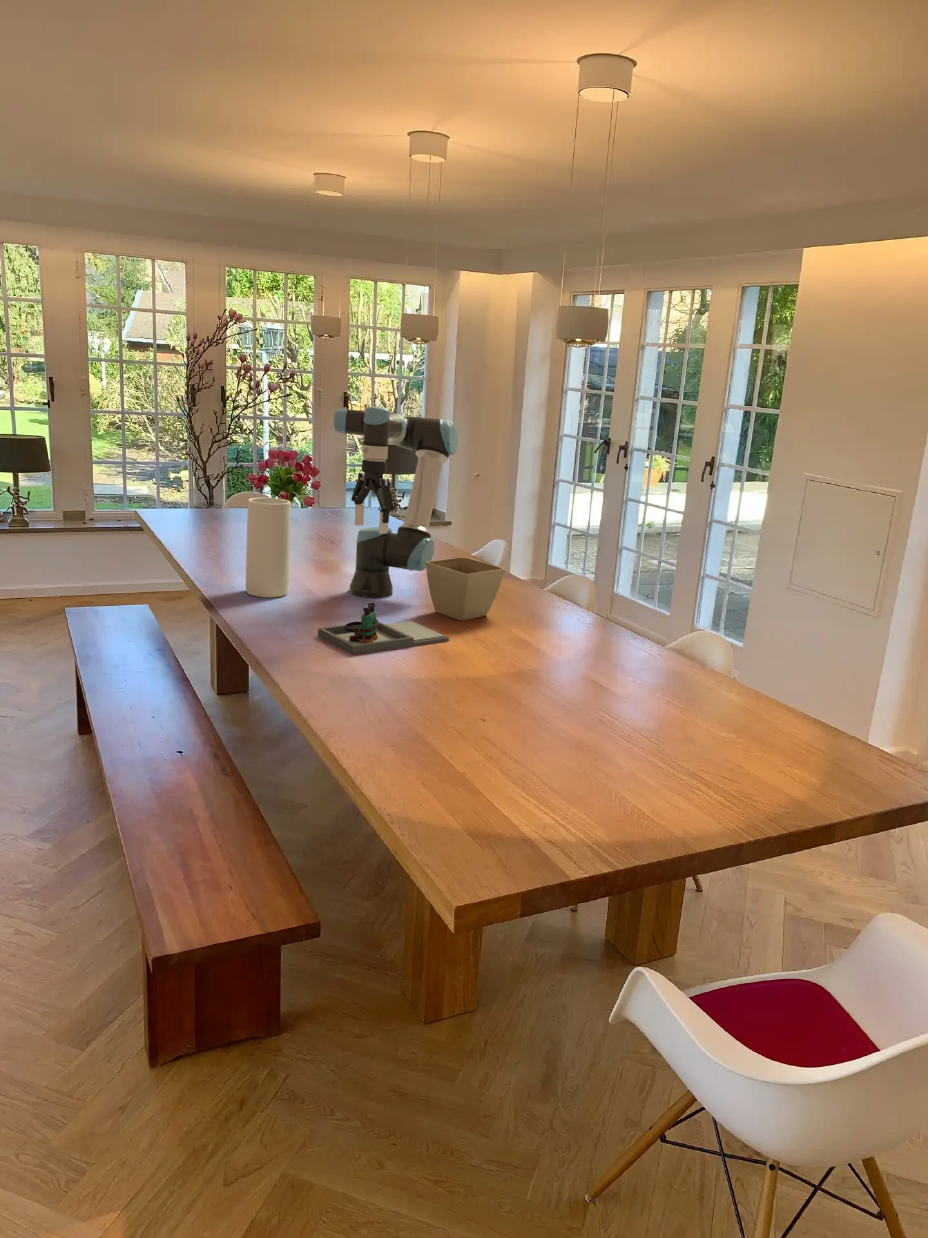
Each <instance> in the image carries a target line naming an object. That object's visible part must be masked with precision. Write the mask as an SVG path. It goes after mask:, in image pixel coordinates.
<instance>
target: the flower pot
mask: <svg viewBox="0 0 928 1238" xmlns="http://www.w3.org/2000/svg"><path fill="white" fill-rule="evenodd" d="M425 570H426V577H427V584H428V589H429V594H430V598H431V601H432V605H433V606H432V607H433V609H434V612H436V613H438V614H441V615H444V616H446V617H450V618H453V619H455V620H459V621H466V620H472V619H477V618H481V617H482V618H483V617H486V616H487V615H488V613H489V612H490V609H491V607H492V605H493V603H494V601H495V599H496V596H497V595H498V594H497V593H499V592H498V591H499V588H500V586H501V583H502V580H503V576H504V572H505V568H504V567H502V566H497V565H496V564H495V565H494V564H491V563H487V562H485V561H480V560H477V559H473V558H470V557H466V556H460V557H454V558H444V559H437V560H431V561H428V562H426V569H425Z"/></svg>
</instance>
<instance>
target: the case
mask: <svg viewBox="0 0 928 1238" xmlns="http://www.w3.org/2000/svg"><path fill="white" fill-rule="evenodd" d="M345 625H346V624H342V625H333V626H324V627H318V628H317V637H319V638H320V639H322V640H324V641H326V642H328V643H329V644H332V645H333V646H335V647H337V648H339V649H340V650H342V651H344V652H347V653H348V654H350V655H352V656H357V655H363V654H370V653H377V652H385V651H390V650H397V649H398V650H399V649H403V648H404V649H405V648H409V647H417V646H424V645H430V644H431V645H432V644H436V643H437V644H438V643H443V642H444V643H445V642H449V640H450V638H449V637H448V636H446V635H444V634H441V633H440V632H437V631H435V630H432V629H430V628H428V627H426V626H424V625H421V624H419V623H417V622H414V621H412V620H407V621H400V622H393V623H384V622H383V623H382V622H381V621H379V620H378V622H377V625H378V626H377V631H376V634H377V635H378V639H373V642H371V643H366V642H364V641H363V640H350V637H349V636H352V635H355V634H354V632H348V631H346V630H345ZM357 627H360V628H361V625H352V626H348V627H347V628H350V629H357ZM360 628H358V629H359V630H360ZM362 639H363V637H362Z"/></svg>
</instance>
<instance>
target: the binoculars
mask: <svg viewBox="0 0 928 1238" xmlns="http://www.w3.org/2000/svg"><path fill="white" fill-rule="evenodd" d="M375 608H376V602H375V603H374V602H370V603H368V604H367V607H363V608H362V609H363V614H361V620H360V621H351V622H347V623H346V624H344V625H345V630H346V631H348V632H354V634H355V635H352V636H349V637H350V640H363V641H364V642H366V643H371V642H373V639H378V635H377V634H376V631H377V626H378V625H377V622H378V621H379V619H377V611H376V609H375ZM352 625H361V628H360V627H357V629H350V628H347V627H348V626H352ZM358 628H360V630H359V629H358ZM362 637H363V639H362Z"/></svg>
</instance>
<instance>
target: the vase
mask: <svg viewBox="0 0 928 1238" xmlns="http://www.w3.org/2000/svg"><path fill="white" fill-rule="evenodd" d="M291 505H292V504H291V501H290V500H287V499H284V498H277V497H275V498H274V497H251V498H248V499H247V516H246V517H247V519H246V520H247V522H246V554H245V556H246V557H245V558H246V559H245V561H246V562H245V591H246V593H247V594H249V595H250V596H252V597H256V598H264V599H268V598H269V599H271V598H275V599H276V598H281V597H284V596H287V595H288V593H289V591H290V590H289V587H290V586H289V585H290V561H291V560H290V559H291V558H290V557H291V554H290V552H291V513H292V512H291V510H292V509H291Z"/></svg>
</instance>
